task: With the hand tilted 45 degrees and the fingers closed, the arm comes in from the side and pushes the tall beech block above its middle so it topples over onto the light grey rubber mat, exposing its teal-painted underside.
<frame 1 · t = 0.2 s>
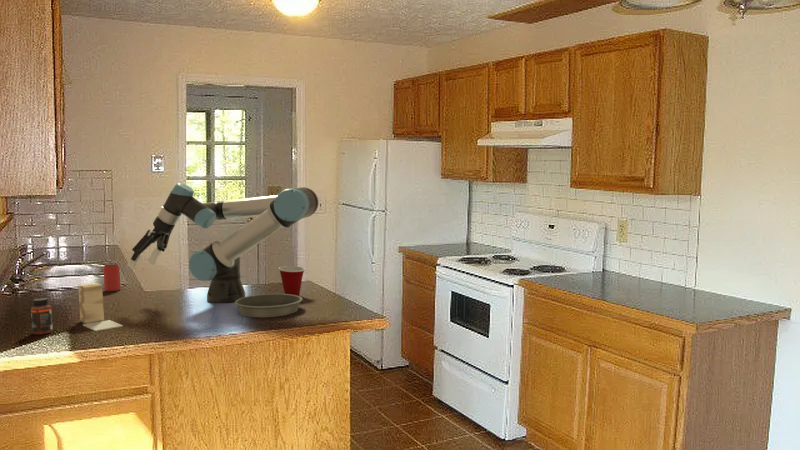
hand: (140, 264, 264), 16 cm above the worktop, tool tilted 35°, fingers open, 13 cm apart
supplement bottle: (42, 333, 222), on the worktop
plastic cup: (292, 296, 277), on the worktop
mat: (102, 326, 230), on the worktop
beech block: (92, 321, 237), on the worktop
beer can: (112, 290, 297), on the worktop
cake pan: (269, 312, 250), on the worktop
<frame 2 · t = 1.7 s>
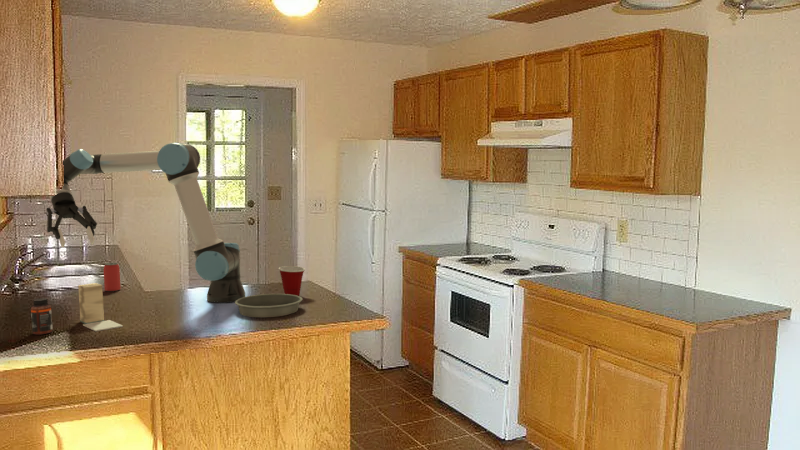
hand: (78, 243, 242), 27 cm above the worktop, tool tilted 45°, fingers open, 9 cm apart
nothing on the worktop moved.
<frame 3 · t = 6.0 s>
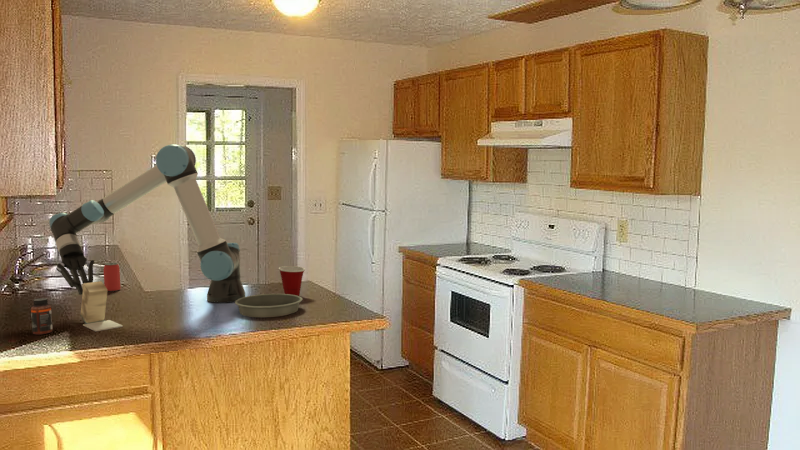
hand: (88, 300, 237), 7 cm above the worktop, tool tilted 45°, fingers closed
beech block: (92, 318, 237), point 1 cm above the worktop, tilted 23°, touching gripper
everything else where it was.
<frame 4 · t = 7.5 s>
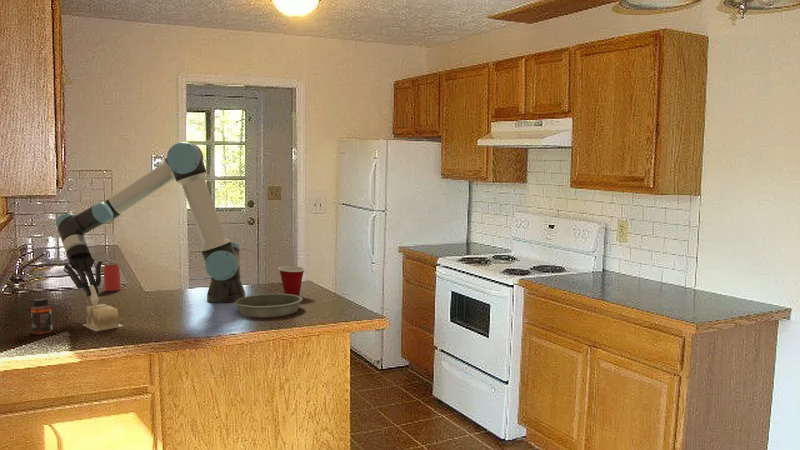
hand: (95, 302, 232), 8 cm above the worktop, tool tilted 45°, fingers closed
beech block: (95, 313, 234), point 3 cm above the worktop, tilted 90°, touching gripper, mat
everything else where it was.
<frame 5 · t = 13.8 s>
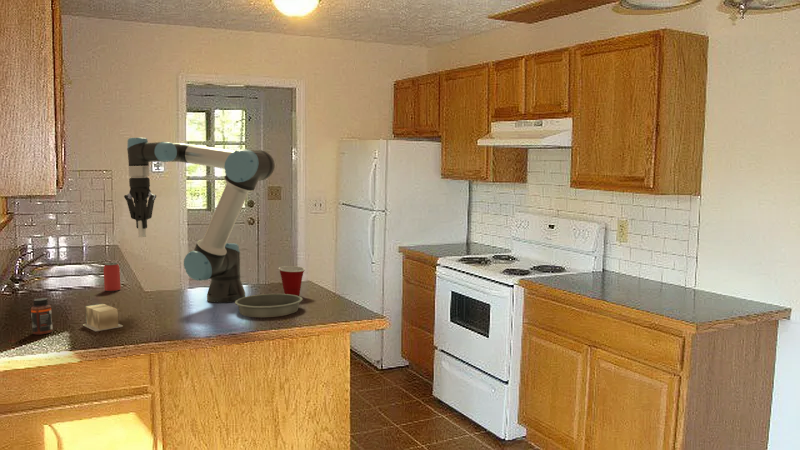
hand: (142, 236, 267), 26 cm above the worktop, tool pointing down, fingers closed
beech block: (94, 313, 234), point 3 cm above the worktop, tilted 90°, touching mat
everything else where it was.
at the end: beech block tilted 90°; beech block inside the target area (3.6 cm from its centre), point 3.4 cm above the worktop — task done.
